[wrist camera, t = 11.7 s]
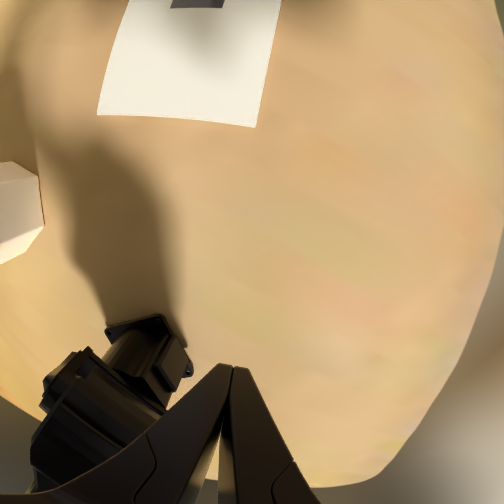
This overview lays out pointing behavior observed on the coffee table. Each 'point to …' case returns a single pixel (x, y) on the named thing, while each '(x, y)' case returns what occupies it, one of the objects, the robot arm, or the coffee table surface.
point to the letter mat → (191, 60)
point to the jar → (18, 210)
